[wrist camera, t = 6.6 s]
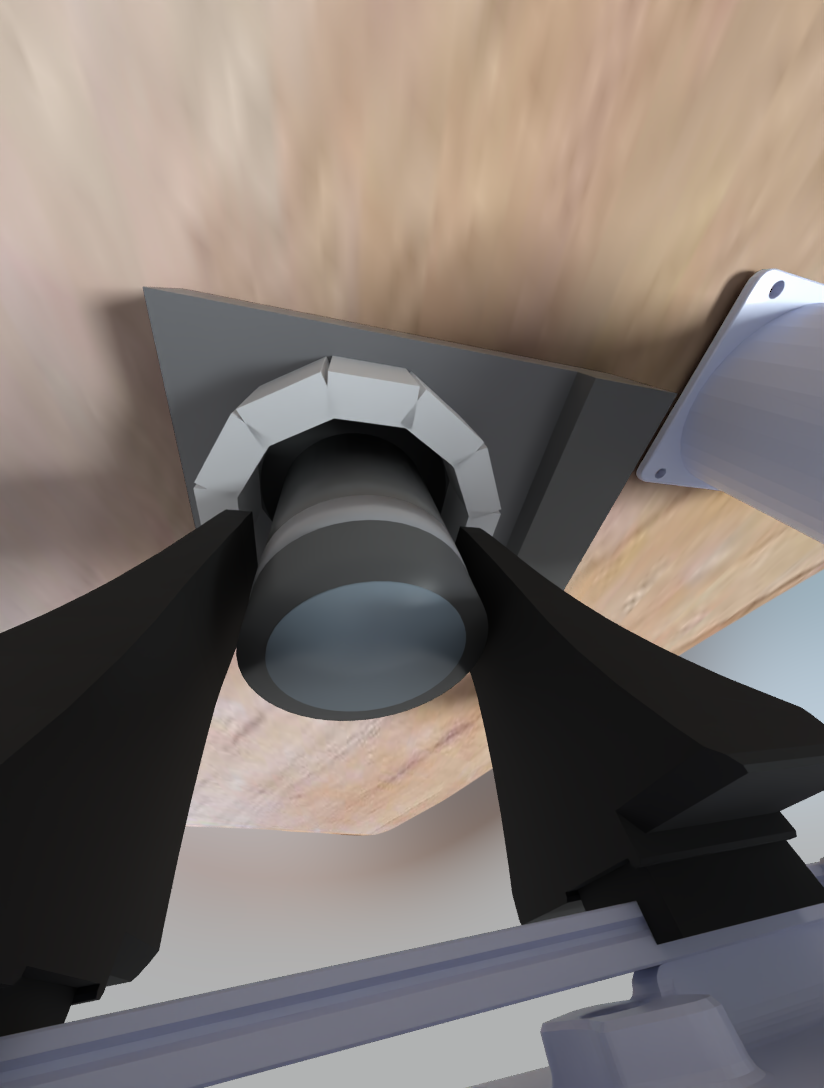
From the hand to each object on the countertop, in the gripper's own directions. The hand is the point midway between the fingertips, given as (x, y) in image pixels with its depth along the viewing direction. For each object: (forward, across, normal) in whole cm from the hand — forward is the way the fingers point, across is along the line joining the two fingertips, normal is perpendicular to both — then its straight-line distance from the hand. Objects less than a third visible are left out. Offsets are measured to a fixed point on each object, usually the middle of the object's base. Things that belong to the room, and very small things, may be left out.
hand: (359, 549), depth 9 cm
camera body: (+6, -2, 0) cm, 6 cm away
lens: (+3, 0, 0) cm, 3 cm away
